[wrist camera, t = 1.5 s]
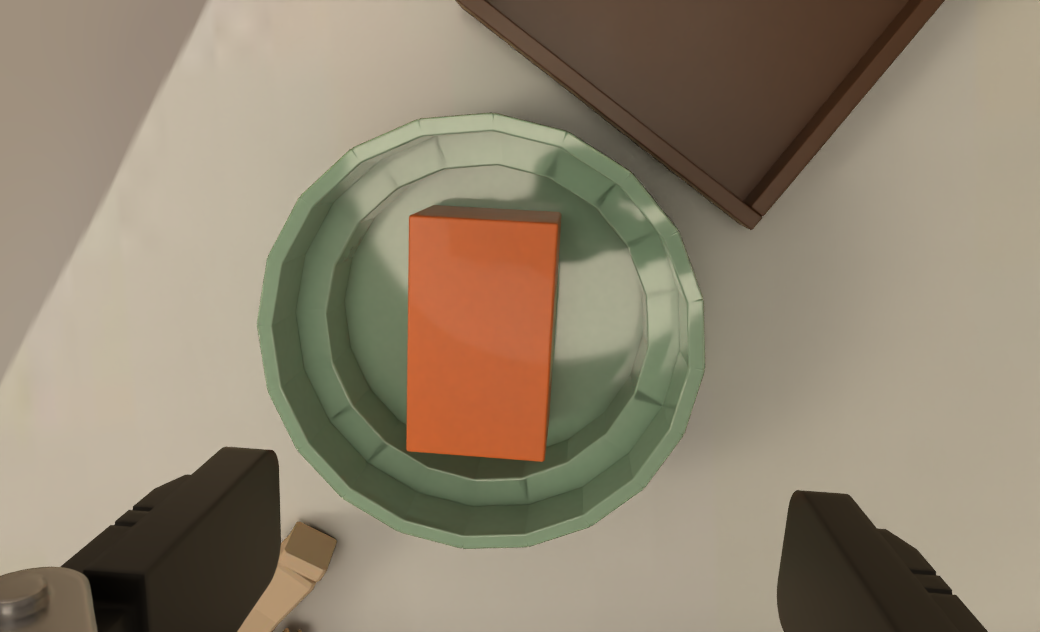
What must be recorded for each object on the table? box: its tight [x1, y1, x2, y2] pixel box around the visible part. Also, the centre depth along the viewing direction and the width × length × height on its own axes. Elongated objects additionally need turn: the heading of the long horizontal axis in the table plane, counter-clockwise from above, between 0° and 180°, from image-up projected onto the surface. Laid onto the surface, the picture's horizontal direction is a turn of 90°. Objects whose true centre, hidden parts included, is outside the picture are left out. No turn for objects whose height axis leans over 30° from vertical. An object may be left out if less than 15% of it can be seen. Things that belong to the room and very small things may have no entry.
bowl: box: [257, 113, 705, 549], centre depth 27 cm, size 15×15×5 cm
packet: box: [406, 205, 561, 462], centre depth 27 cm, size 8×5×4 cm, turn 177°
